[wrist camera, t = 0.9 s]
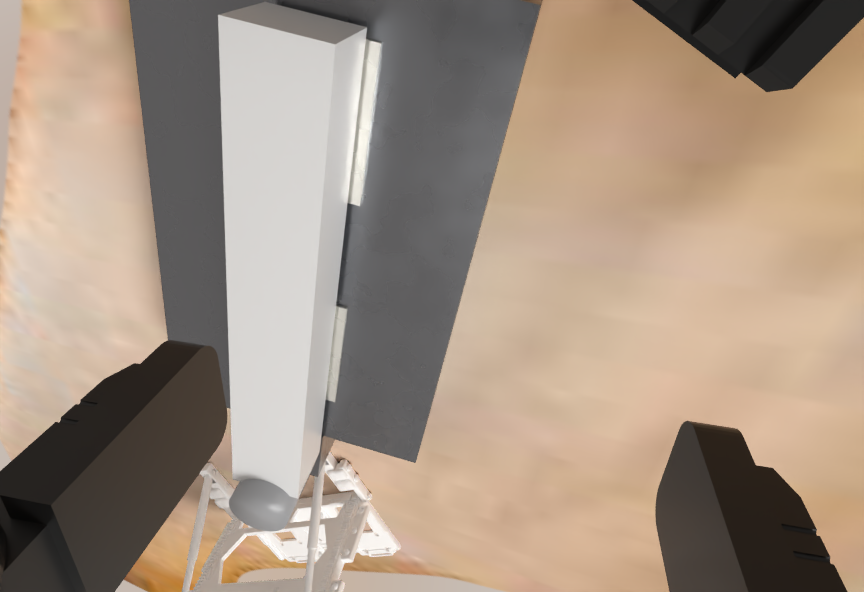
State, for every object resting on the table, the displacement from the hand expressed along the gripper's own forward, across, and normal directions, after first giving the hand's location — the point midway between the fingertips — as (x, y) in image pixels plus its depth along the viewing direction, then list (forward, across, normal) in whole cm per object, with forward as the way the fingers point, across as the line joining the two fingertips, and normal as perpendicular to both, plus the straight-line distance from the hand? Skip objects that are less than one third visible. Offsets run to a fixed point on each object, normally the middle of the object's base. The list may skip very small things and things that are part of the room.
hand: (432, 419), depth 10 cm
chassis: (+21, +9, +7) cm, 24 cm away
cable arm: (+16, +10, +8) cm, 21 cm away
